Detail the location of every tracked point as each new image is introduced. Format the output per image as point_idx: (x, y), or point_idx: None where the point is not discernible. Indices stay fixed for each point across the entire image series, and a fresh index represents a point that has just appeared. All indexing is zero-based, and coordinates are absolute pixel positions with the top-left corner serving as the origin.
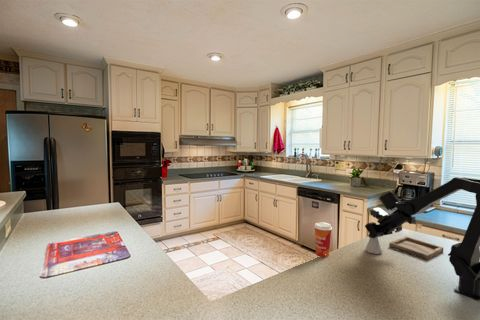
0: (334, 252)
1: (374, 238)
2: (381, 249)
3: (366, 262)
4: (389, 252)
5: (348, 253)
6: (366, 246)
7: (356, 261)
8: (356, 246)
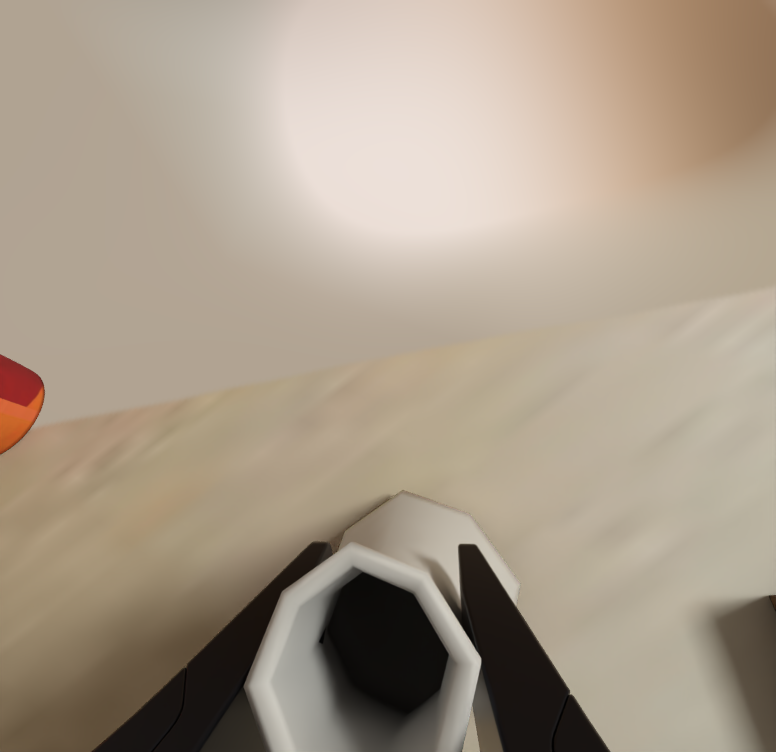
0: (99, 421)
1: (339, 680)
2: None
3: (98, 745)
4: (612, 725)
5: (167, 489)
6: (365, 522)
7: (53, 661)
8: (375, 408)
